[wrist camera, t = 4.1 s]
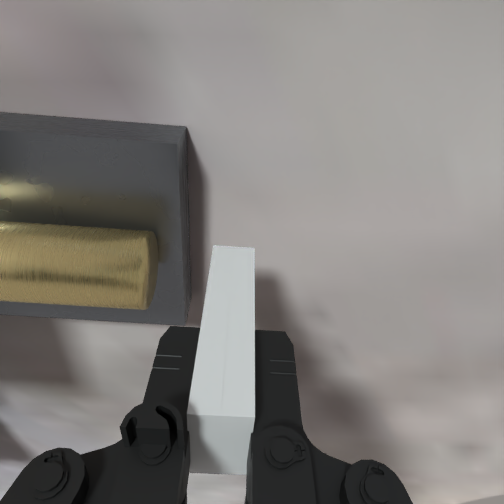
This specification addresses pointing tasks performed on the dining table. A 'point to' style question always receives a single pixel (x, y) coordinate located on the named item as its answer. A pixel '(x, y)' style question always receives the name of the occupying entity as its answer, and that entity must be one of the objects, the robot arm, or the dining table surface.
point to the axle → (77, 265)
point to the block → (102, 197)
